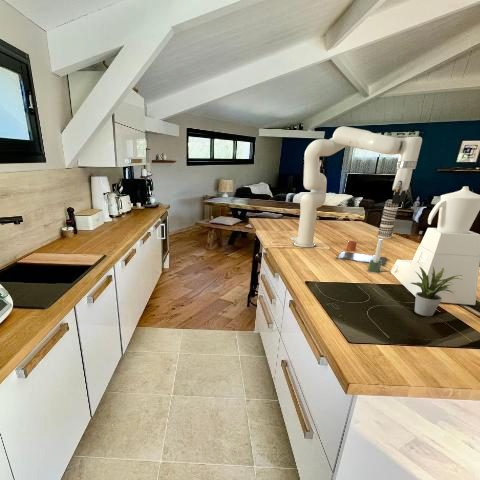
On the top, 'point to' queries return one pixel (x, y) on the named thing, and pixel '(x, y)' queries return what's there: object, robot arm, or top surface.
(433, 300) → the house plant
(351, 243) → the reddish-brown cube
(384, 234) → the tower model
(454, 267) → the blender
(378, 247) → the stylus
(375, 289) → the top surface
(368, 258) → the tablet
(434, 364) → the top surface
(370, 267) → the green cube
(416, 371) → the top surface
